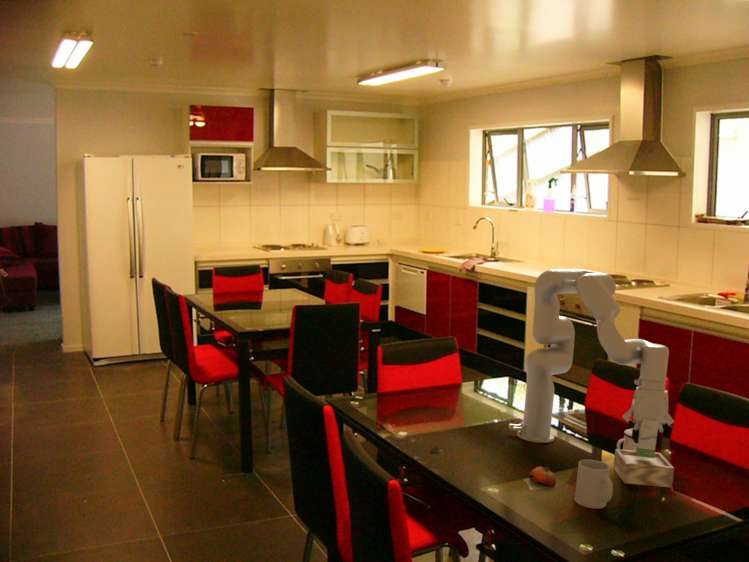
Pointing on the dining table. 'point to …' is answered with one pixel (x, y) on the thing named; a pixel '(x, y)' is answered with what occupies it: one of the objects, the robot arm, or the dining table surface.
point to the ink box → (647, 438)
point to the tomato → (543, 475)
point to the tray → (643, 469)
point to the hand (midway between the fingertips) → (645, 442)
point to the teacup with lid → (627, 441)
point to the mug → (593, 484)
